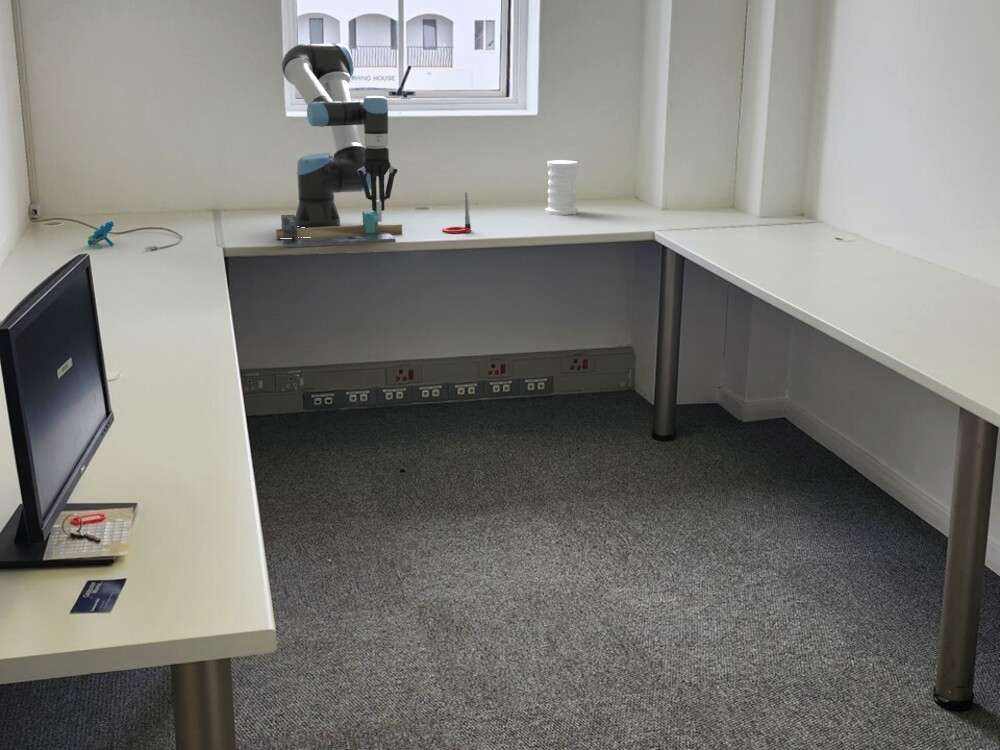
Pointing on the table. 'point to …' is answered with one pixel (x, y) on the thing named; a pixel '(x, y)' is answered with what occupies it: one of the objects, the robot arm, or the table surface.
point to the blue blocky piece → (101, 235)
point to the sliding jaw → (370, 221)
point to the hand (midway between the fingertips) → (378, 220)
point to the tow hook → (467, 221)
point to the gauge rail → (329, 229)
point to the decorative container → (562, 187)
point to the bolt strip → (338, 240)
